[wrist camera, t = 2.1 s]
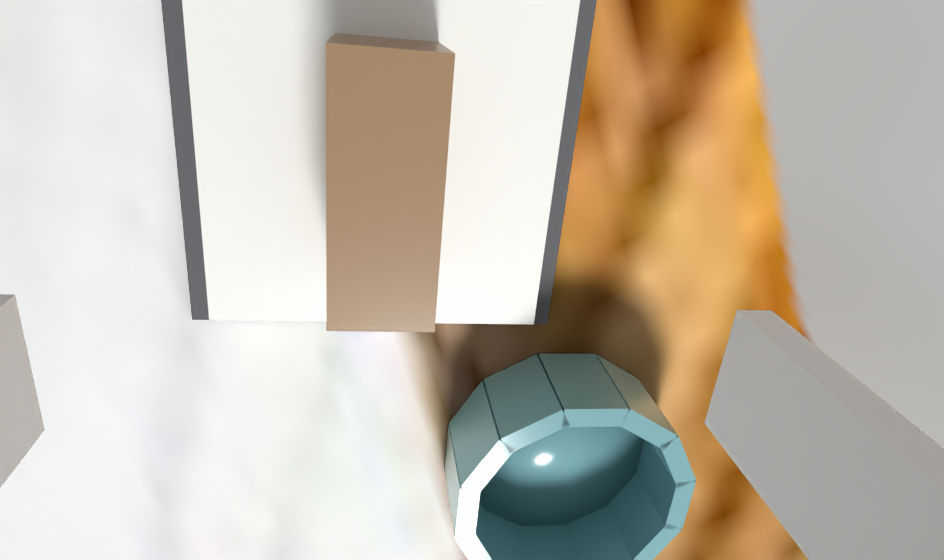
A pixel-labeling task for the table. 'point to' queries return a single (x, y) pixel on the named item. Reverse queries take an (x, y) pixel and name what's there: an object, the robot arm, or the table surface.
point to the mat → (189, 174)
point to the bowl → (565, 465)
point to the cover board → (291, 147)
